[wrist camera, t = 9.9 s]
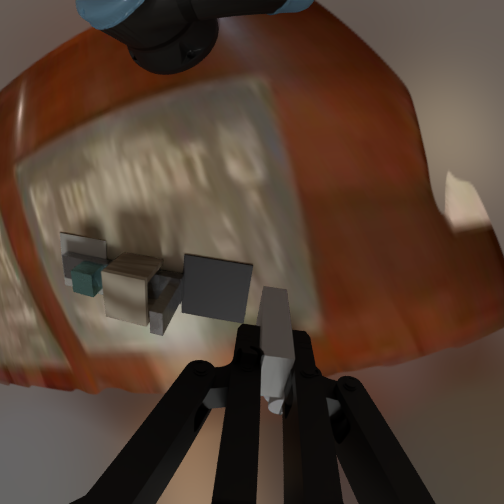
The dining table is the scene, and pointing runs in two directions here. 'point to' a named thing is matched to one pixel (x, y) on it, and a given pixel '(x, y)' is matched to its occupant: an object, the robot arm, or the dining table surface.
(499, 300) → the dining table surface
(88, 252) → the mat
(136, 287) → the tunnel
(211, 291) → the grey shoe shape
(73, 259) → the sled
